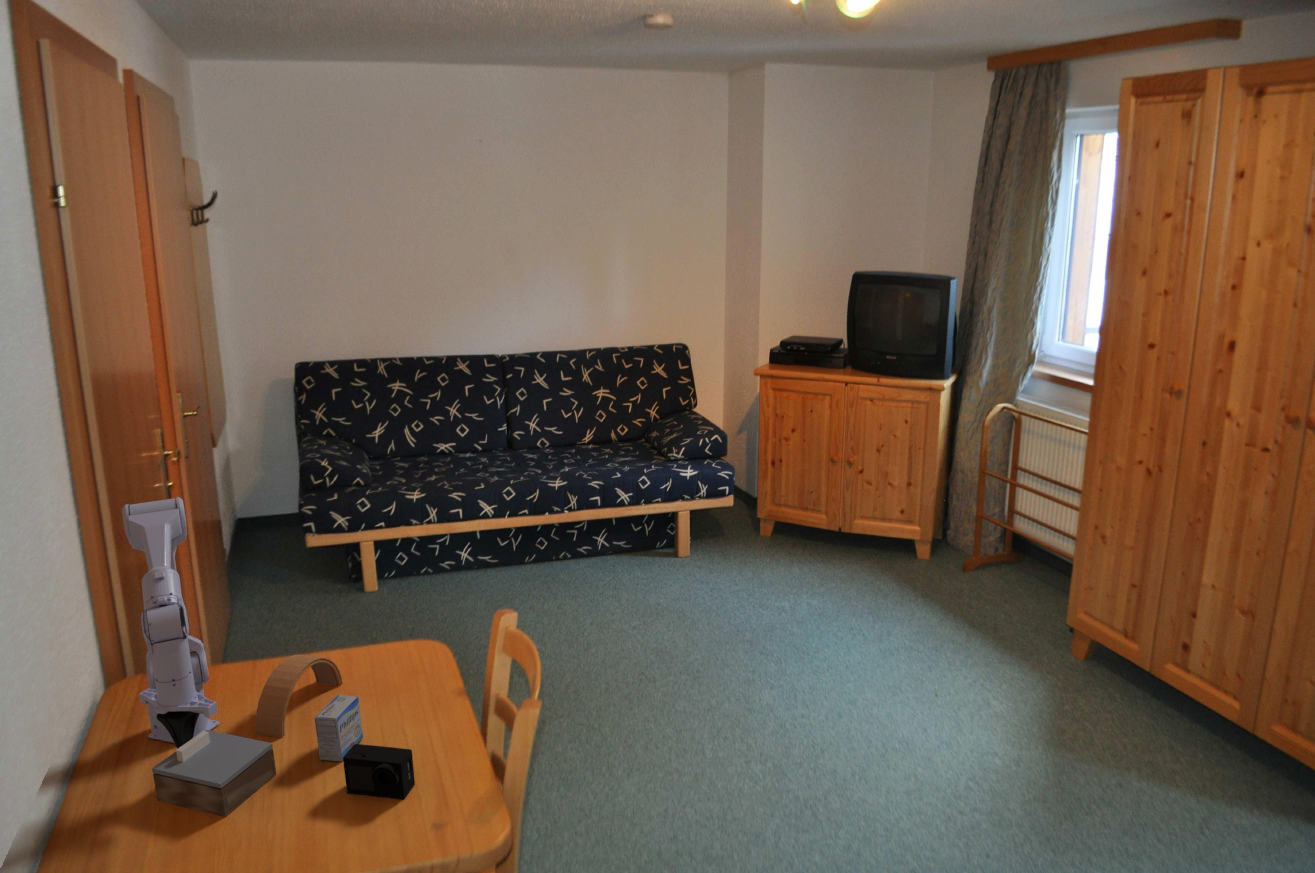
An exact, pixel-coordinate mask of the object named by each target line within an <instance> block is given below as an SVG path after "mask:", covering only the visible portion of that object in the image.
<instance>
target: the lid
mask: <svg viewBox="0 0 1315 873" xmlns="http://www.w3.org/2000/svg"><path fill="white" fill-rule="evenodd" d="M270 749H274V748H273V743H272V742H268V741H262V740H259V739H258V740H257V739H254V738H248V737H245V736H244V737H243V736H239V735H235V734H228V733H226V732H225V733H224V732H219V731H215V730H206V731H202V732H201V733H200V734H198V735H197V736H195V737H194V738H193V739H191V740H190V741H188V742H187V743H185V744H184V745H183V746H181V747H180V748H177V749H176V750H175V751H174V752H173V753H172V754H171V755H169V756H168V757H166V758H164V759H163V760H161V761H160V762H158V764H156V765H155V766H153V767H152V768H151V770H152V774H154V773H156V774H161V775H165V776H169V777H174V778H178V779H182V780H187V781H191V782H195V783H200V784H204V785H208V786H213V787H217V788H223V787H224V786H225V785H226V784H228V783H229V782H230V781H231V780H233V779H234V778H235V777H236V776H238V775H239V774H240V773H241V772H243V771H244V770H245V769H246V768H248V767H249V766H250V765H251V764H253V763H254V762H255V761H256V760H258V759H259V758H260V757H261V756H263V755H264V754H265V753H267V752H268V751H269V750H270Z"/></svg>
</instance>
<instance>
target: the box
mask: <svg viewBox="0 0 1315 873" xmlns="http://www.w3.org/2000/svg"><path fill="white" fill-rule="evenodd" d="M152 776H153V781H154V788H155V789H154V790H155V793H156V800H157V802H162V803H164V804H165V803H166V804H170V805H174V806H178V807H182V808H187V809H190V810H194V811H198V812H202V813H203V812H204V813H207V814H212V815H215V816H219V817H223V818H227V817H228V816H229V815H230V814H232V813H233V812H234V811H235V810H236V809H237V808H239V807H240V806H241V805H242V804H244V802H246V801H247V800H248V799H249V798H250V797H252V796H253V795H254V794H255V793H257V792H258V791H259V790H260V789H261V788H262V787H263V786H265V785H266V784H267V783H269V782H270V781H271V780H272V779H273V778H274V777H276V776H277V769H276V762H275V754H274V748H272V749H270V750H269V751H268V752H267V753H265V754H264V755H263V756H261V757H260V758H259V759H258V760H256V761H255V762H254V763H253V764H251V765H250V766H249V767H248V768H246V769H245V770H244V771H243V772H241V773H240V774H239V775H238V776H236V777H235V778H234V779H233V780H231V781H230V782H229V783H228V784H226V785H225V786H224V787H223V788H217V787H213V786H208V785H204V784H200V783H195V782H191V781H187V780H182V779H178V778H174V777H169V776H165V775H161V774H156V773H152Z"/></svg>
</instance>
